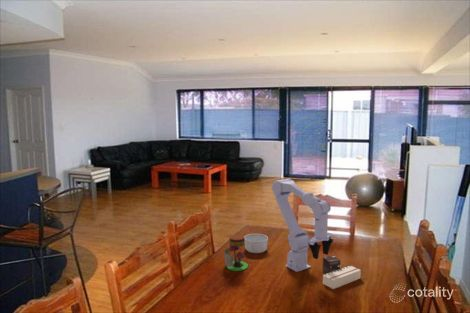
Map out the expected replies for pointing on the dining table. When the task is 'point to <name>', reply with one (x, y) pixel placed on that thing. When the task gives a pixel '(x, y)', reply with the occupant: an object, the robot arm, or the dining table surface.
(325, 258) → the box
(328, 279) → the striped peg rail
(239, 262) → the plant terrarium
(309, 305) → the dining table surface
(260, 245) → the ramekin
